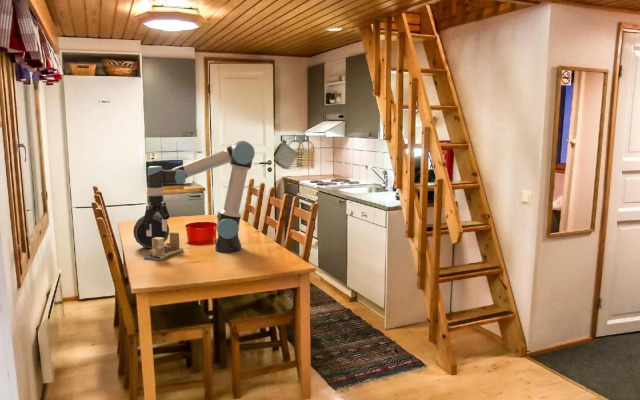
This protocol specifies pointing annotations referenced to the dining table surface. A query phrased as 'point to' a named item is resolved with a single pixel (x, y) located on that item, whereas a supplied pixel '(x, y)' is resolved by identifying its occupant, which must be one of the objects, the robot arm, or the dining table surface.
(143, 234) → the dark studded bowl
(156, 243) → the block
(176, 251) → the grey board with posts
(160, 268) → the dining table surface
